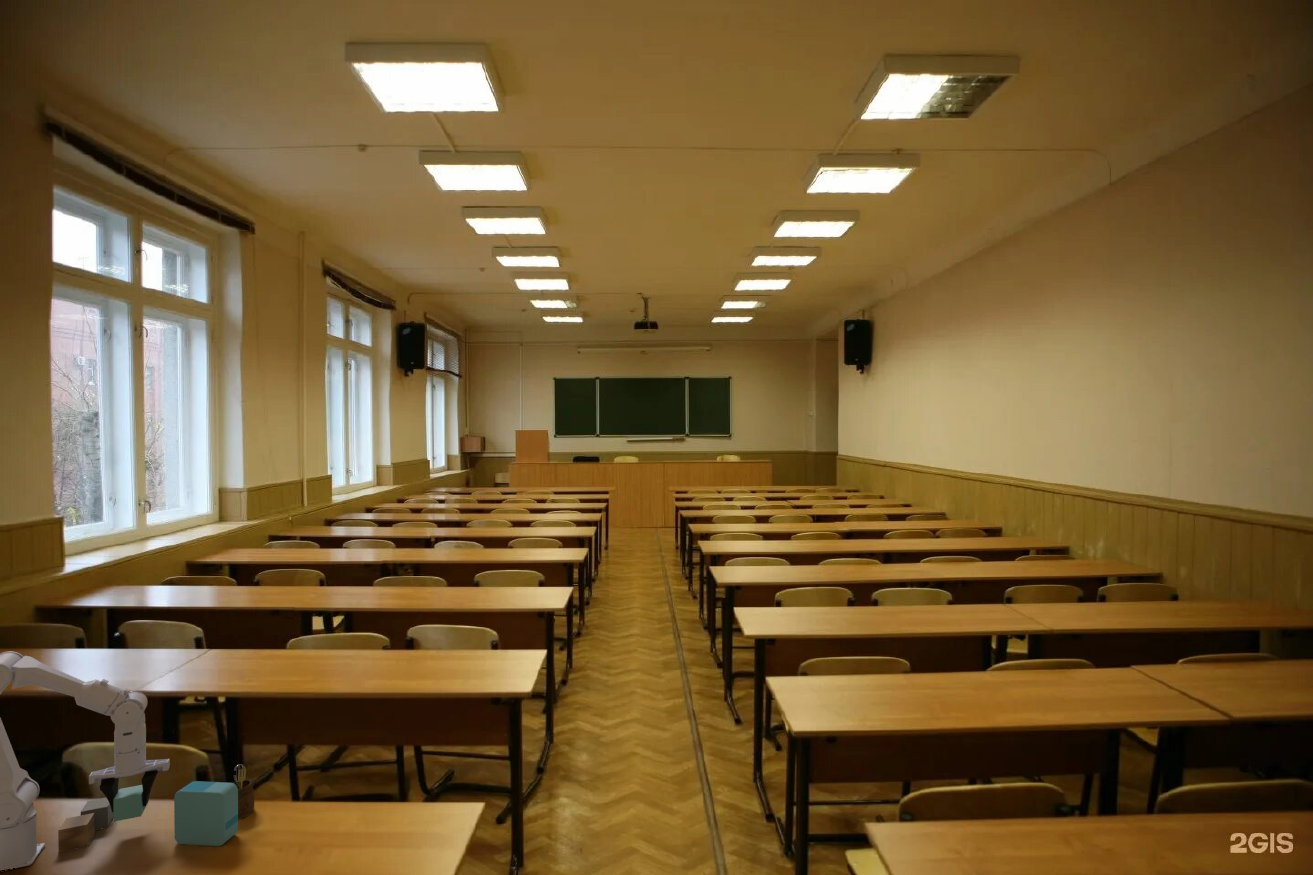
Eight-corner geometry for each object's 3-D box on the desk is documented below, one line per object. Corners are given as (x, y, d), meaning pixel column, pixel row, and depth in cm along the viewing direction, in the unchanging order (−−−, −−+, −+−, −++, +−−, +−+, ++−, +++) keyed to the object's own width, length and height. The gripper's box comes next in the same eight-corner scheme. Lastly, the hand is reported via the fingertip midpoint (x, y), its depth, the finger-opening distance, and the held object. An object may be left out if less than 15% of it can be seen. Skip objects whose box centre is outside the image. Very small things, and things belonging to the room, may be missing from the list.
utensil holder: (251, 803, 167) (251, 755, 167) (256, 814, 162) (256, 765, 162) (223, 812, 163) (223, 763, 163) (228, 824, 159) (227, 773, 158)
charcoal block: (80, 833, 155) (80, 811, 155) (87, 821, 160) (87, 800, 160) (108, 827, 157) (107, 806, 157) (114, 816, 162) (114, 795, 162)
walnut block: (58, 852, 148) (58, 830, 148) (66, 840, 152) (66, 818, 152) (87, 846, 150) (87, 824, 150) (94, 834, 155) (94, 812, 155)
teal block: (113, 821, 151) (113, 799, 151) (119, 810, 156) (119, 788, 156) (141, 816, 153) (141, 794, 153) (146, 805, 158) (146, 783, 158)
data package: (238, 834, 154) (238, 782, 154) (224, 846, 150) (224, 793, 150) (189, 832, 155) (189, 780, 155) (174, 844, 151) (173, 790, 151)
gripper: (172, 734, 161) (172, 791, 161) (95, 746, 155) (96, 805, 155) (165, 746, 155) (166, 805, 155) (85, 760, 149) (85, 821, 149)
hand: (130, 806), depth 155 cm, fingers closed on teal block, 5 cm apart
